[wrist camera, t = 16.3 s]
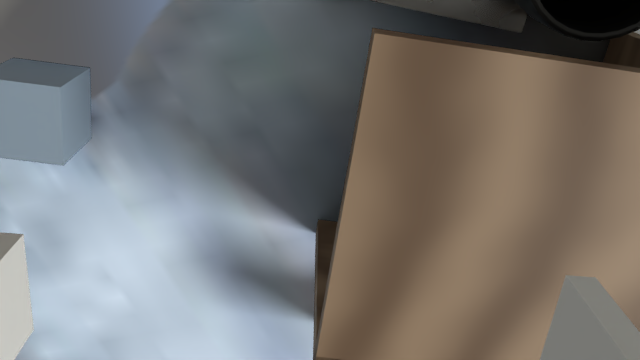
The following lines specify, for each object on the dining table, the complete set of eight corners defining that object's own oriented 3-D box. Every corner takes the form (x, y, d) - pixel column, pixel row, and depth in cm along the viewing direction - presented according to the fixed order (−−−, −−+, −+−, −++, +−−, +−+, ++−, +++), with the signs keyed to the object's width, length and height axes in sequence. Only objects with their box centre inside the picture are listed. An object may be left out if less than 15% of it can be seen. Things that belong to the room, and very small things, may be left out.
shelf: (315, 233, 45) (312, 374, 31) (355, -11, 38) (374, 33, 24) (550, 264, 46) (647, 414, 32) (632, 31, 39) (800, 97, 25)
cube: (18, 128, 42) (-19, 155, 37) (13, 57, 40) (-27, 76, 35) (91, 138, 42) (63, 165, 38) (90, 67, 40) (60, 87, 36)
